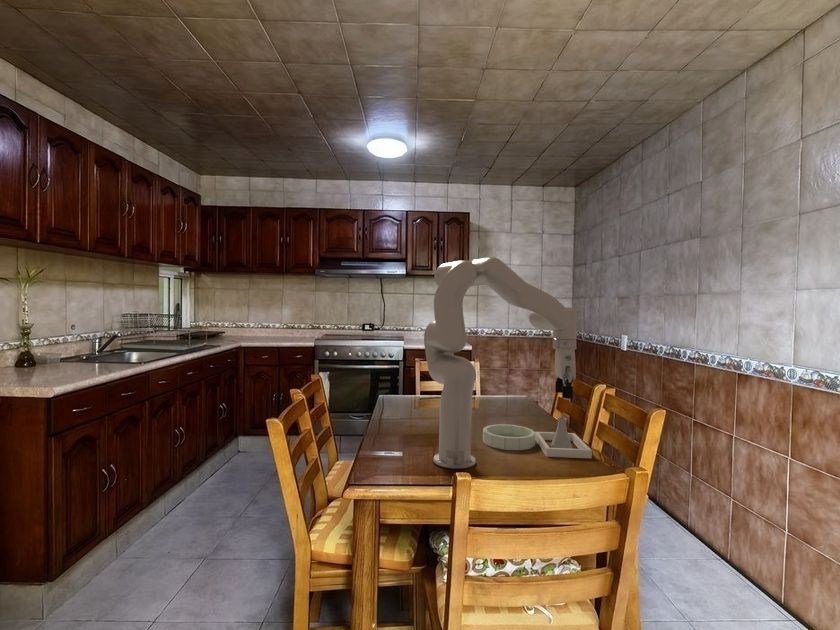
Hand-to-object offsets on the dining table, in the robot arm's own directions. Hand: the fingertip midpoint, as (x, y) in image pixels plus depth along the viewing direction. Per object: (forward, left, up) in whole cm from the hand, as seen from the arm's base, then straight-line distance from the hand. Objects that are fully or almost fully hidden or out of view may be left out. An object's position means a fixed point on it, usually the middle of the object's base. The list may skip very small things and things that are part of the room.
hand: (563, 395), depth 156 cm
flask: (0, 0, -18) cm, 18 cm away
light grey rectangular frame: (0, 0, -18) cm, 18 cm away
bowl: (+4, +17, -18) cm, 25 cm away
